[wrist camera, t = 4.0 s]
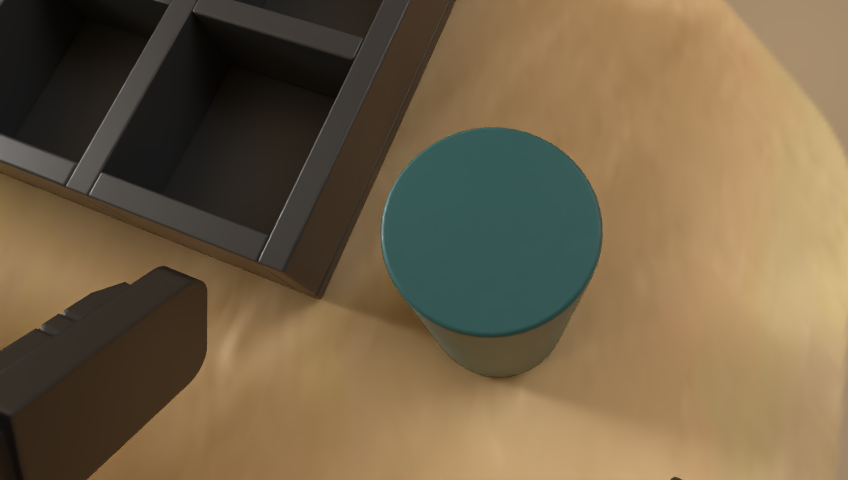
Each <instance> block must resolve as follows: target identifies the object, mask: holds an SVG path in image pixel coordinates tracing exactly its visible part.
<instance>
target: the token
mask: <svg viewBox="0 0 848 480" xmlns="http://www.w3.org/2000/svg"><path fill="white" fill-rule="evenodd" d="M601 245H602V218H601V212H600V208H599V204H598V201H597V198H596V195H595V193H594V191H593V189H592V186H591V184H590V182H589V181H588V179H587V178H586V176H585V175H584V173H583V172H582V170H581V169H580V168H579V167H578V166H577V165H576V163H575V162H574V161H573V160H572V159H571V158H570V157H568V156H567V155H566V154H565V153H564V152H563V151H561V150H560V149H558V148H557V147H556V146H554V145H553V144H551V143H549V142H547V141H545V140H543V139H542V138H540V137H537V136H534V135H532V134H529V133H526V132H522V131H518V130H514V129H507V128H479V129H471V130H467V131H463V132H459V133H456V134H453V135H451V136H448V137H445V138H444V139H442V140H440V141H438V142H436V143H434V144H432V145H431V146H429V147H428V148H426V149H425V150H423V151H422V152H421V153H420V154H419V155H418V156H416V157H415V158H414V159H413V160H412V161H411V162H410V163H409V164H408V165H407V167H406V168H405V169H404V170H403V171H402V173H401V174H400V176H399V177H398V178H397V180H396V181H395V183H394V185H393V187H392V189H391V191H390V193H389V195H388V198H387V201H386V204H385V207H384V211H383V215H382V222H381V247H382V252H383V258H384V261H385V264H386V267H387V270H388V273H389V275H390V277H391V279H392V281H393V283H394V285H395V286H396V288H397V289H398V291H399V292H400V294H401V295H402V297H403V298H404V299H405V301H406V302H407V303H408V304H409V306H410V307H411V308H412V310H413V311H414V312H415V313H416V315H417V316H418V317H419V319H420V320H421V321H422V322H423V324H424V325H425V326H426V328H427V329H428V330H429V331H430V333H431V334H432V335H433V337H434V338H435V339H436V341H437V342H438V343H439V344H440V346H441V347H442V348H443V350H444V351H445V352H446V353H447V354H448V355H449V356H450V357H451V358H452V359H453V360H454V361H455V362H456V363H458V364H459V365H461V366H462V367H464V368H466V369H468V370H470V371H472V372H474V373H477V374H480V375H485V376H490V377H506V376H512V375H517V374H520V373H523V372H525V371H528V370H529V369H531V368H533V367H535V366H536V365H538V364H539V363H541V362H542V361H543V360H544V359H545V358H546V357H547V356H548V355H549V354H550V353H551V351H552V350H553V349H554V347H555V346H556V344H557V343H558V341H559V339H560V337H561V335H562V333H563V331H564V329H565V328H566V326H567V324H568V322H569V320H570V318H571V316H572V314H573V312H574V310H575V308H576V307H577V305H578V303H579V301H580V299H581V297H582V295H583V293H584V291H585V289H586V288H587V286H588V284H589V282H590V280H591V278H592V276H593V273H594V271H595V269H596V266H597V263H598V260H599V256H600V252H601Z"/></svg>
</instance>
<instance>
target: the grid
mask: <svg viewBox="0 0 848 480" xmlns="http://www.w3.org/2000/svg"><path fill="white" fill-rule="evenodd" d="M455 1H456V0H0V173H3V174H5V175H8V176H10V177H13V178H15V179H18V180H20V181H23V182H25V183H28V184H30V185H33V186H35V187H38V188H40V189H43V190H45V191H48V192H50V193H53V194H56V195H58V196H61V197H63V198H66V199H68V200H71V201H73V202H76V203H78V204H81V205H83V206H86V207H88V208H91V209H93V210H96V211H98V212H101V213H103V214H106V215H108V216H111V217H113V218H116V219H118V220H121V221H123V222H126V223H128V224H131V225H133V226H136V227H138V228H141V229H143V230H146V231H148V232H151V233H153V234H156V235H158V236H161V237H163V238H166V239H168V240H171V241H173V242H176V243H178V244H181V245H183V246H186V247H188V248H191V249H193V250H196V251H199V252H201V253H204V254H206V255H209V256H211V257H214V258H216V259H219V260H221V261H224V262H226V263H229V264H231V265H234V266H236V267H239V268H241V269H244V270H246V271H249V272H251V273H254V274H256V275H259V276H261V277H264V278H266V279H269V280H271V281H274V282H276V283H279V284H281V285H284V286H286V287H289V288H291V289H294V290H296V291H299V292H301V293H304V294H306V295H309V296H311V297H314V298H316V299H322V297H323V295H324V292H325V290H326V288H327V286H328V283H329V281H330V279H331V277H332V275H333V272H334V270H335V268H336V266H337V263H338V261H339V259H340V257H341V255H342V252H343V250H344V248H345V246H346V243H347V241H348V239H349V237H350V235H351V232H352V230H353V228H354V226H355V223H356V221H357V219H358V217H359V215H360V212H361V210H362V208H363V206H364V203H365V201H366V199H367V197H368V195H369V192H370V190H371V188H372V186H373V183H374V181H375V179H376V177H377V174H378V172H379V170H380V168H381V166H382V163H383V161H384V159H385V157H386V154H387V152H388V150H389V148H390V146H391V143H392V141H393V139H394V137H395V134H396V132H397V130H398V128H399V126H400V123H401V121H402V119H403V117H404V114H405V112H406V110H407V108H408V106H409V103H410V101H411V99H412V97H413V94H414V92H415V90H416V88H417V86H418V83H419V81H420V79H421V77H422V74H423V72H424V70H425V68H426V66H427V63H428V61H429V59H430V57H431V54H432V52H433V50H434V48H435V46H436V43H437V41H438V39H439V37H440V34H441V32H442V30H443V28H444V26H445V23H446V21H447V19H448V17H449V14H450V12H451V10H452V8H453V6H454V3H455Z"/></svg>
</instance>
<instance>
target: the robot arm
mask: <svg viewBox="0 0 848 480" xmlns="http://www.w3.org/2000/svg"><path fill="white" fill-rule="evenodd" d="M206 351H207V288H206V285H205V284H204V282H202V281H200V280H198V279H195V278H193V277H190V276H188V275H185V274H183V273H181V272H178V271H176V270H173V269H171V268H168V267H165V266H161V267H158V268H155V269H154V270H152V271H150V272H149V273H147V274H146V275H144V276H143V277H141V278H140V279H138V280H137V281H135V282H134V283H132V284H131V285H130V284H128V283H125V282H124V283H121V284H118V285H115V286H111V287H108V288H105V289H102V290H99V291H96V292H93V293H91V294H89V295H88V296H86V297H84V298H83V299H81V300H80V301H78V302H77V303H75V304H73V305H72V306H70V307H69V308H67V309H66V310H64V313H63V314H62V315H60V314H58V315H56V316H55V317H53V318H51V319H50V320H48V321H47V322H45V323H44V324H42V326H41V328H40V329H34V330H33V331H31V332H29V333H28V334H26V335H25V336H23V337H22V338H20V339H18V340H17V341H15V342H14V343H12V344H11V345H9V346H7V347H6V348H4V349H3V350H1V351H0V480H87V479H88V478H89V477H90V476H91V475H92V474H93V473H94V472H95V471H96V470H97V469H98V468H100V467H101V466H102V465H103V464H104V463H105V462H106V461H107V460H108V459H109V458H110V457H111V456H112V455H113V454H114V453H116V452H117V451H118V450H119V449H120V448H121V447H122V446H123V445H124V444H125V443H126V442H127V441H128V440H129V439H130V438H132V437H133V436H134V435H135V434H136V433H137V432H138V431H139V430H140V429H141V428H142V427H143V426H144V425H145V424H146V423H148V422H149V421H150V420H151V419H152V418H153V417H154V416H155V415H156V414H157V413H158V412H159V411H160V410H161V409H162V408H163V407H165V406H166V405H167V404H168V403H169V402H170V401H171V400H172V399H173V398H174V397H175V396H176V395H177V394H178V393H179V392H181V391H182V390H183V389H184V388H185V387H186V386H187V385H188V384H189V383H190V382H191V381H192V380H193V379H194V377H195V376H196V375H197V373H198V372H199V370H200V368H201V366H202V364H203V361H204V359H205V355H206ZM671 480H682V479H680V478H677V477H673V478H672V479H671Z"/></svg>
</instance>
